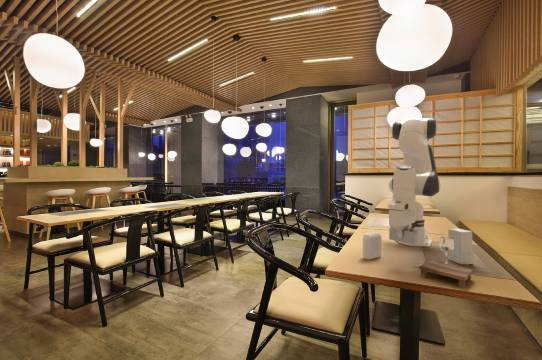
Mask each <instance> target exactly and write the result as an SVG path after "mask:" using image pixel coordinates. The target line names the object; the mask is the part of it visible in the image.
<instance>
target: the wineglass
mask: <svg viewBox="0 0 542 360" xmlns="http://www.w3.org/2000/svg"><path fill="white" fill-rule="evenodd" d="M438 248H439V249H440V250H441V252H444V255H445V262H444V263H446V264H450V263H448V257H449V252H452V251H453V250H454V248H455V245H454V240H453V238H450V237H448V236H440V239H439V242H438ZM450 265H452V264H450Z"/></svg>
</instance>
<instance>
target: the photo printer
mask: <svg viewBox="0 0 542 360" xmlns="http://www.w3.org/2000/svg"><path fill="white" fill-rule="evenodd" d="M380 257H382V234H381V233H380V232H377V231H369V232H366V233H365V234H363V237H362V258H363V259H364V260H373V259H376V258H380Z"/></svg>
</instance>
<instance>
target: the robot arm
mask: <svg viewBox="0 0 542 360" xmlns="http://www.w3.org/2000/svg"><path fill="white" fill-rule="evenodd" d="M438 131H439V123H438V122H437V120H436V119H435V118H432V117H431V118H429V117H427V118H421V117H420V118H418V117H411V118H408V119H404V120H398V121H395V122H394V123H393V124H392V125H391V130H390V132H391V135H392V138H393V139H394V140H397V141H398V148H399V150H400V151H401V152H402V153H403V154H402V157H403V159H402V165H398V166H396V167H395V168H394V171H393V177H391V178H390V179H389V181H388V189H389V191H390V193H392V198H391V201H390V202H389V203H388V205H387V209H389V210H388V226H389V228H396V230H397V236H398V237H403V233H402V229H403V228H406V229H410V228H413V229H414V230H418V237H417V243H415V244H411V243H405V242H400V241H397V243H399V244H401V245H405V246H410V247H427V248H428V247H431V244H432V242H433V240H432V239H430V238H428V237H429V236H428V233H429V232H428V231H427V229H426V227H425V222H426V220H425V219H424V206H423V205H422V204H421V202H418V201H416V199H417V198H416V196H426V197H430V198H431V197H434V196H436V195H437V194H438V193H439V192H440V191H441V179H440V178H439V175H438V172H437V166H436V161H435V156H434V151H433V147H432V146H431V144H428V143H427V142H428V141H429V140H430V139H433V138H434V137H436V136H437V133H438ZM426 140H427V142H426Z"/></svg>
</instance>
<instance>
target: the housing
mask: <svg viewBox="0 0 542 360" xmlns="http://www.w3.org/2000/svg"><path fill="white" fill-rule="evenodd" d="M388 230H389V231H388V233H389V234H388V240H390V241H391V240H392V241H396V242H398V241H400V242H405V243H411V244H415V243H417V237H418V230H414V229H413V228H410V229H406V228H403V229H402V233H403V237H398V236H397V230H396V228H391V227H389V228H388Z"/></svg>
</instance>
